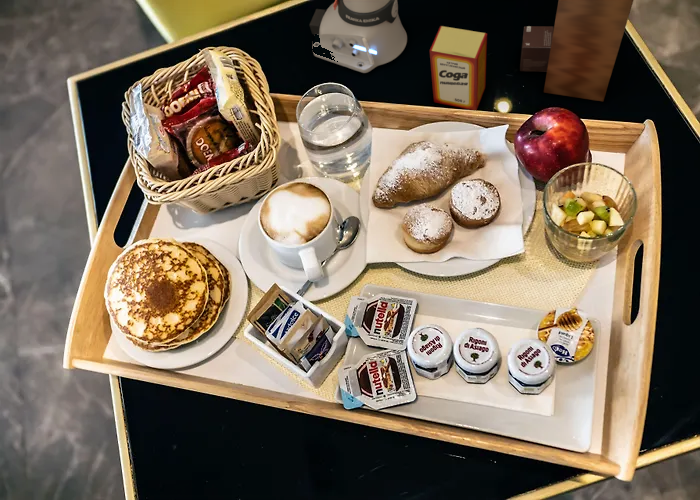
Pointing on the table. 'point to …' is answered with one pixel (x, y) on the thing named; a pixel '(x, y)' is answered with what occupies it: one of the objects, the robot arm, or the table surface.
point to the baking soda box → (458, 67)
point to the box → (536, 48)
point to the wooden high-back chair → (585, 46)
